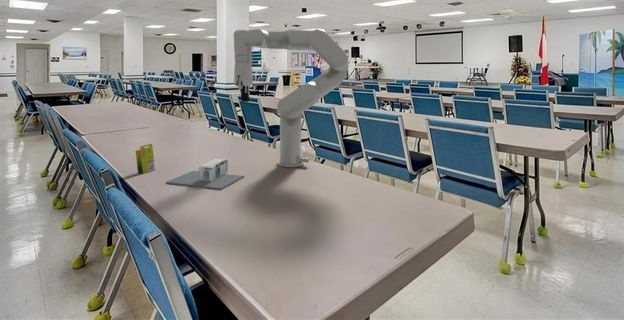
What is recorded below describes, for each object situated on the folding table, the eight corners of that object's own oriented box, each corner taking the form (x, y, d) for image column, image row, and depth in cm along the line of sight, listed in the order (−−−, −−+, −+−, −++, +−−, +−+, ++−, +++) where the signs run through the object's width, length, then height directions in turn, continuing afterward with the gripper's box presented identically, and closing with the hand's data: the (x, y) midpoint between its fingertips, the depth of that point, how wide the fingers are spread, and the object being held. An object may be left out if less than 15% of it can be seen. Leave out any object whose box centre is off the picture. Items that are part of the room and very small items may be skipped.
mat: (244, 177, 163) (244, 175, 163) (221, 189, 146) (221, 188, 146) (193, 172, 170) (193, 170, 170) (166, 183, 153) (165, 181, 153)
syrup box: (228, 172, 168) (212, 182, 154) (215, 171, 169) (198, 180, 155) (227, 159, 166) (212, 167, 153) (214, 158, 168) (198, 166, 154)
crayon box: (149, 169, 174) (147, 142, 171) (155, 169, 173) (153, 143, 170) (137, 173, 167) (134, 145, 164) (143, 174, 166) (140, 146, 164)
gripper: (242, 60, 184) (244, 100, 188) (227, 59, 170) (230, 103, 174) (258, 59, 182) (259, 100, 186) (244, 59, 168) (246, 103, 172)
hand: (245, 101), depth 180 cm, fingers closed
